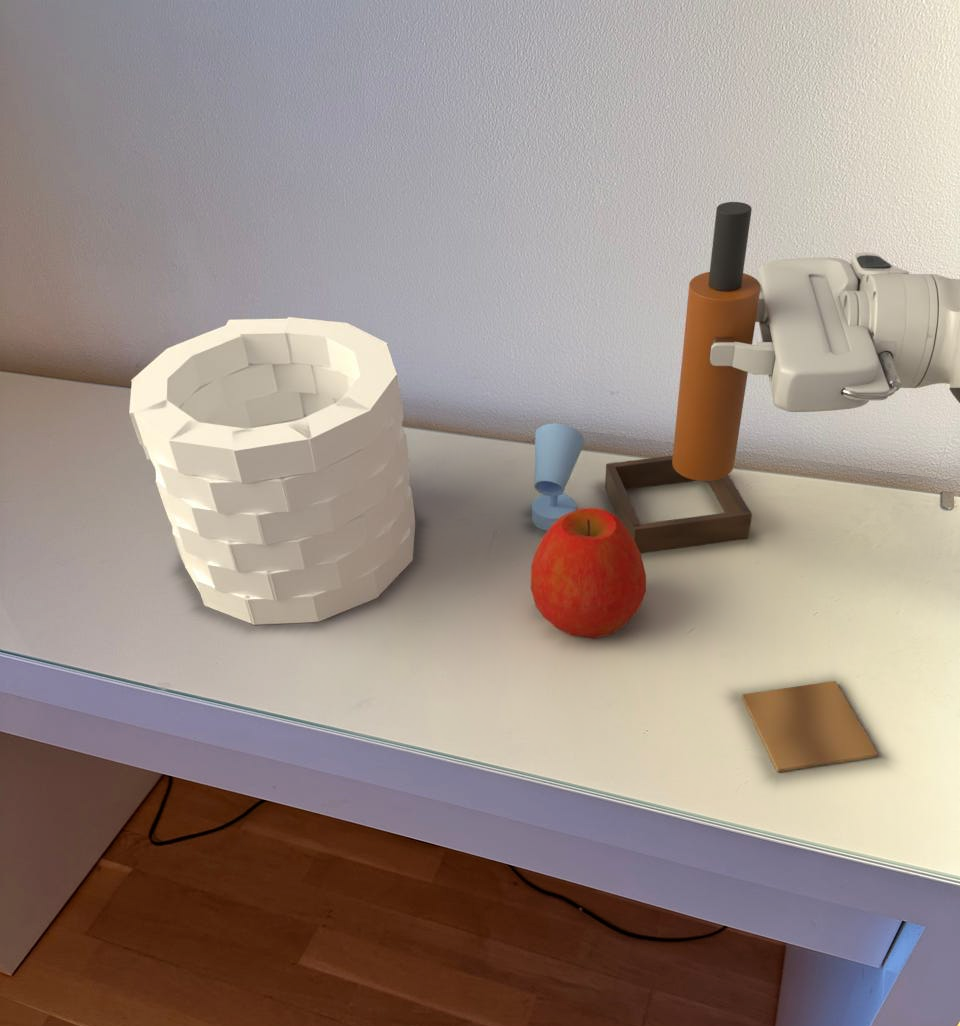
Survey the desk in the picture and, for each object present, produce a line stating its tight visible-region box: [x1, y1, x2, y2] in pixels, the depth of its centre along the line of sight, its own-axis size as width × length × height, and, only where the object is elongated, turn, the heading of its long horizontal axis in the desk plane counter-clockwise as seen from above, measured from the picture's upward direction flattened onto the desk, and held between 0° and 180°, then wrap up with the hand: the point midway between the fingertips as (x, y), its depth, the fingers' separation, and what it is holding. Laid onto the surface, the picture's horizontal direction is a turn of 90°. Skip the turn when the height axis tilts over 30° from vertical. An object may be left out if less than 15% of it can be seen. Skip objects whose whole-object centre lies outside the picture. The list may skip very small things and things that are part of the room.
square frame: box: [604, 454, 753, 554], centre depth 97 cm, size 12×12×3 cm
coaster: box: [741, 680, 879, 773], centre depth 77 cm, size 8×8×1 cm
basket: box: [128, 316, 416, 626], centre depth 91 cm, size 25×24×19 cm
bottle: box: [672, 201, 761, 482], centre depth 81 cm, size 6×6×23 cm
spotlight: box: [531, 423, 585, 532], centre depth 96 cm, size 5×10×7 cm
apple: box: [530, 507, 647, 639], centre depth 85 cm, size 10×10×10 cm
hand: (708, 331), depth 80 cm, fingers closed on bottle, 5 cm apart
